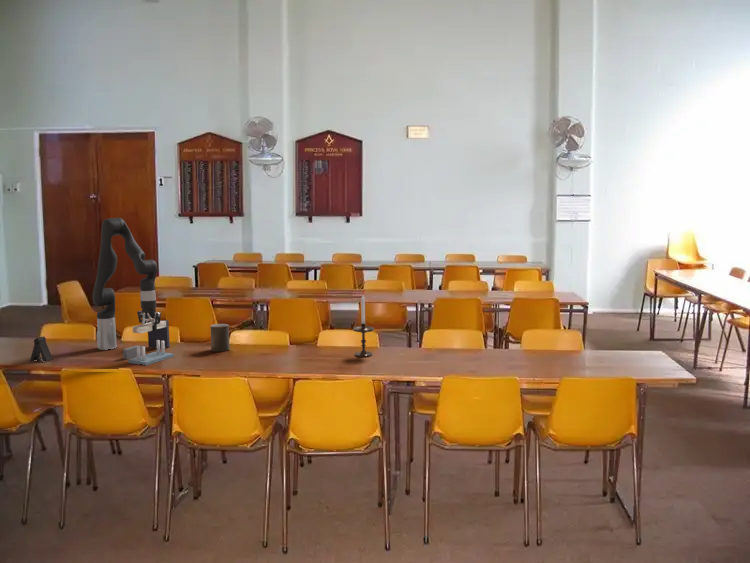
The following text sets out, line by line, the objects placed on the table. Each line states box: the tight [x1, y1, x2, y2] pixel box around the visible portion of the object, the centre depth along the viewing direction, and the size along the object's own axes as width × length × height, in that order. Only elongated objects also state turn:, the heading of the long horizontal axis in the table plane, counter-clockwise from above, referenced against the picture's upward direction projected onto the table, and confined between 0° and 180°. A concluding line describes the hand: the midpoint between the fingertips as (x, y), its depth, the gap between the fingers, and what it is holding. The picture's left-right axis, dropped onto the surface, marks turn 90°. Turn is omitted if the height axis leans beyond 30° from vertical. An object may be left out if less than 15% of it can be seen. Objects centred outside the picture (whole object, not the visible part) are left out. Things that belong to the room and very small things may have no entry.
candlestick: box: [352, 289, 375, 358], centre depth 379 cm, size 11×11×35 cm
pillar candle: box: [210, 323, 230, 353], centre depth 395 cm, size 10×10×15 cm
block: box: [122, 345, 142, 360], centre depth 381 cm, size 3×10×5 cm, turn 154°
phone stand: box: [29, 335, 53, 362], centre depth 375 cm, size 9×6×12 cm, turn 85°
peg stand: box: [127, 340, 175, 366], centre depth 375 cm, size 12×20×8 cm, turn 154°
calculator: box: [147, 319, 171, 349], centre depth 402 cm, size 11×4×15 cm, turn 84°
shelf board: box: [132, 321, 166, 334], centre depth 373 cm, size 6×18×3 cm, turn 154°
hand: (150, 331), depth 374 cm, fingers closed on shelf board, 5 cm apart
